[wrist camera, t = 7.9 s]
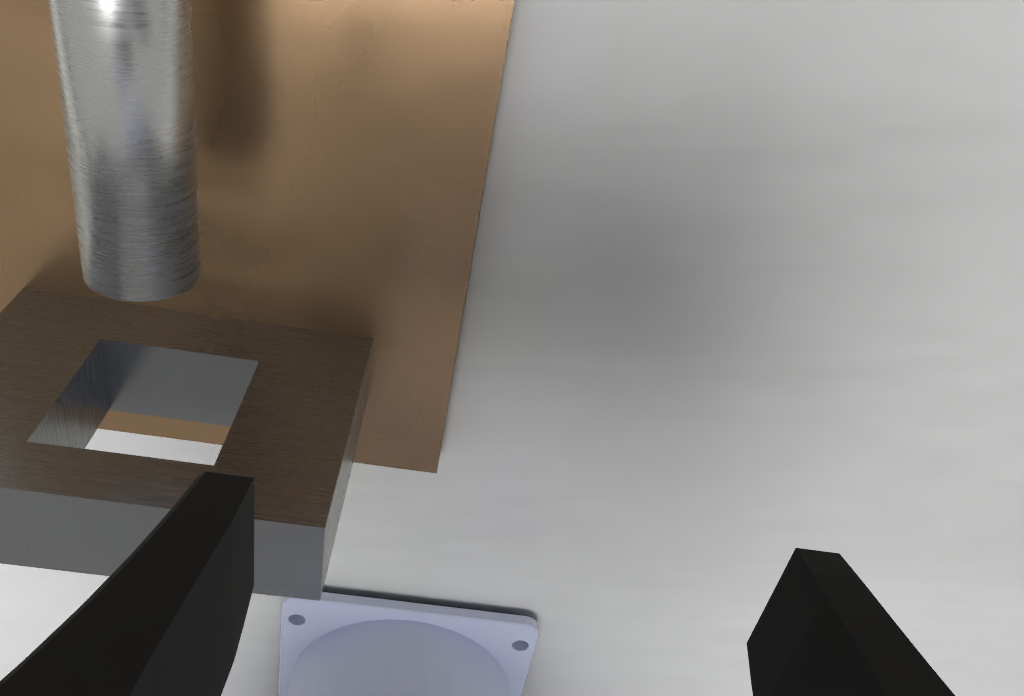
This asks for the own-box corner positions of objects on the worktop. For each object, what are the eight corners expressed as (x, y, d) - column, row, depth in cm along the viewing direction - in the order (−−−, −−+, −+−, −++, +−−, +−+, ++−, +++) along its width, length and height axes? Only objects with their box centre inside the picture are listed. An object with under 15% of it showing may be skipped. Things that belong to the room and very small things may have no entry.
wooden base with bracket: (439, 453, 24) (412, 675, 18) (-20, 391, 22) (-203, 606, 17) (579, -404, 14) (623, -522, 8) (-236, -589, 12) (-875, -883, 7)
